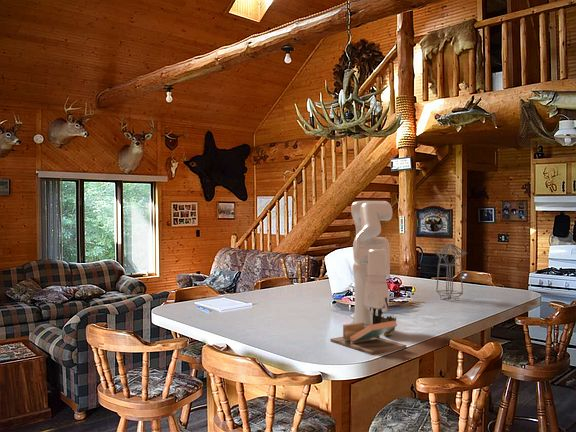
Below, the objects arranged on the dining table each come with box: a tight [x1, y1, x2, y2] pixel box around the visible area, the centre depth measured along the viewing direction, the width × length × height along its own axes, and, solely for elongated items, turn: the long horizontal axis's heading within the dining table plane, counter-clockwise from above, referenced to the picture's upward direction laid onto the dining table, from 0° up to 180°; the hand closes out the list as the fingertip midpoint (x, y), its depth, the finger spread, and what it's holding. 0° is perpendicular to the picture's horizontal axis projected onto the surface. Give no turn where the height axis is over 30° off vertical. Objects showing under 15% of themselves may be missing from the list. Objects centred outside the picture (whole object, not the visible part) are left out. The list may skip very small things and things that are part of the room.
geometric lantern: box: [433, 243, 468, 300], centre depth 324 cm, size 16×16×35 cm
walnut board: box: [329, 322, 407, 356], centre depth 215 cm, size 25×19×7 cm
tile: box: [350, 321, 398, 342], centre depth 212 cm, size 14×14×2 cm
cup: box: [381, 315, 397, 337], centre depth 230 cm, size 8×7×8 cm
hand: (376, 324), depth 210 cm, fingers closed
